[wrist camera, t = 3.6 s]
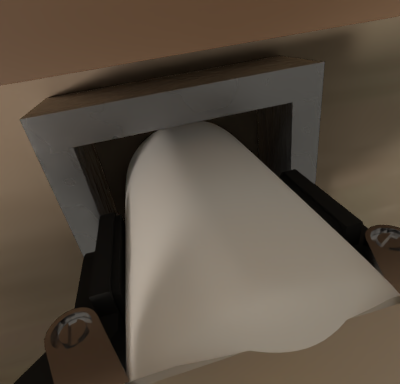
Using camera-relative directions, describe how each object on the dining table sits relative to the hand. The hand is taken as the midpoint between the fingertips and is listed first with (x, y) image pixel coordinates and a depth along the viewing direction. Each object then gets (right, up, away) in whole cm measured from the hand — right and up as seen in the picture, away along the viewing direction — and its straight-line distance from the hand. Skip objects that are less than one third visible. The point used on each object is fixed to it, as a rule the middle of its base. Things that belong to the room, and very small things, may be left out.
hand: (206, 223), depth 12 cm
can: (-1, +2, +4) cm, 4 cm away
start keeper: (-1, +2, +4) cm, 4 cm away
